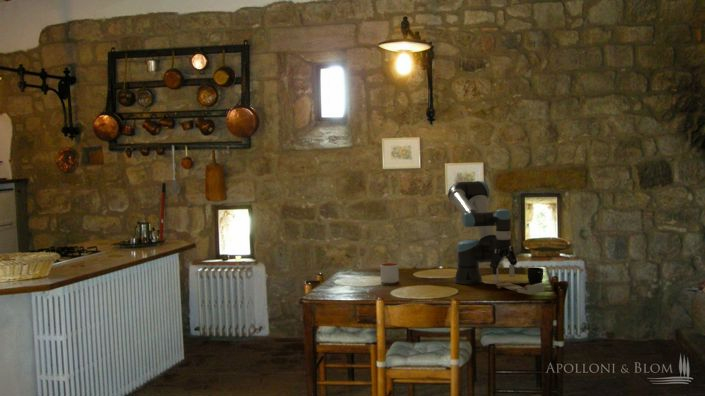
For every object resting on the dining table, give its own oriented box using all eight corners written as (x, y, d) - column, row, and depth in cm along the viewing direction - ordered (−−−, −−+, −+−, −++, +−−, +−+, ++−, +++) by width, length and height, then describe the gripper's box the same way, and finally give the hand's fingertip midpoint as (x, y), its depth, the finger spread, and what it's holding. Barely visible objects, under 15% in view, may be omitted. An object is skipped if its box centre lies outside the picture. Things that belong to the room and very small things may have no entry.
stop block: (517, 292, 344) (517, 284, 344) (530, 289, 351) (530, 281, 351) (530, 294, 338) (530, 286, 338) (543, 291, 345) (543, 283, 345)
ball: (521, 288, 346) (525, 294, 343) (524, 283, 343) (528, 289, 340) (528, 287, 347) (531, 293, 344) (531, 282, 345) (535, 288, 342)
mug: (532, 289, 350) (531, 271, 350) (525, 285, 362) (525, 267, 362) (547, 289, 351) (547, 270, 350) (540, 284, 363) (540, 267, 362)
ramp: (496, 288, 357) (496, 283, 357) (504, 286, 362) (504, 281, 361) (519, 291, 346) (519, 286, 346) (527, 289, 350) (527, 284, 350)
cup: (385, 284, 375) (384, 266, 374) (377, 281, 384) (377, 264, 384) (401, 282, 379) (401, 265, 378) (393, 279, 388) (393, 262, 387)
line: (519, 291, 346) (519, 290, 346) (527, 289, 350) (527, 288, 350) (520, 291, 345) (520, 290, 345) (528, 289, 350) (528, 288, 350)
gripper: (494, 241, 345) (494, 282, 346) (523, 236, 361) (524, 276, 362) (482, 240, 351) (483, 281, 352) (512, 235, 367) (512, 274, 368)
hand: (504, 278), depth 357 cm, fingers open, 13 cm apart
